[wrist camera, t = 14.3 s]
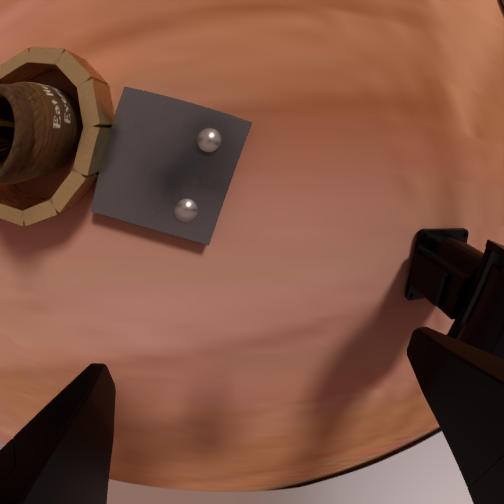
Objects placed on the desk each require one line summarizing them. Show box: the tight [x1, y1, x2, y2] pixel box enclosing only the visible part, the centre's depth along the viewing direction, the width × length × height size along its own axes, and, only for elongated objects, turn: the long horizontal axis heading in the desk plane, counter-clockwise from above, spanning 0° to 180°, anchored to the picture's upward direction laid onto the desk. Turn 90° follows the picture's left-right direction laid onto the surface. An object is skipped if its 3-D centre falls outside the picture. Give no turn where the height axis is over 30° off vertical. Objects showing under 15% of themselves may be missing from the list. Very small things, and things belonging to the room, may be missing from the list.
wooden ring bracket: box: [0, 47, 252, 245], centre depth 14 cm, size 27×11×3 cm, turn 70°
